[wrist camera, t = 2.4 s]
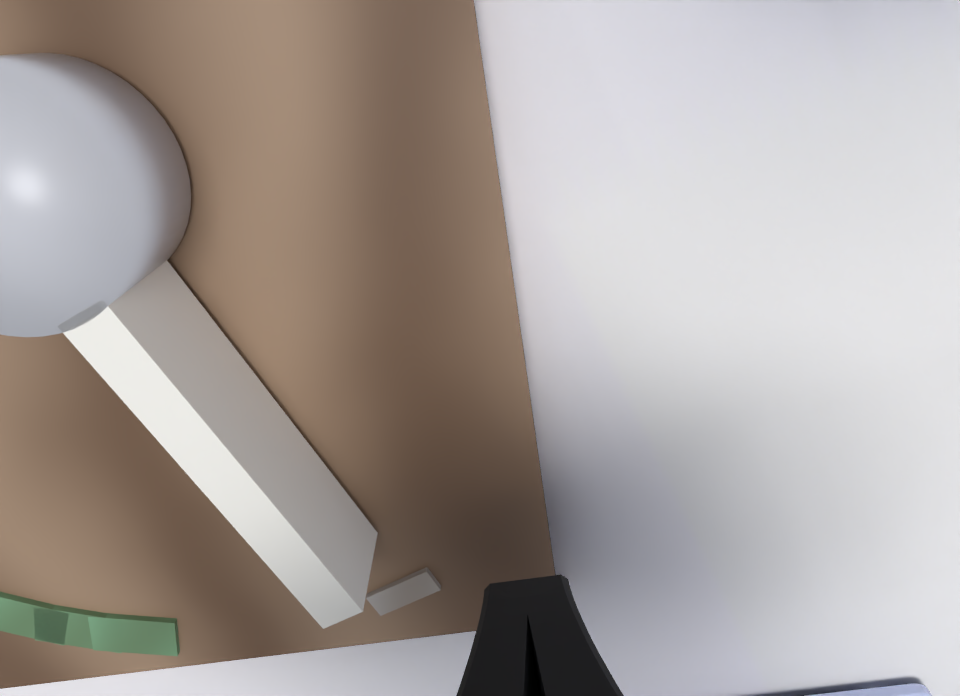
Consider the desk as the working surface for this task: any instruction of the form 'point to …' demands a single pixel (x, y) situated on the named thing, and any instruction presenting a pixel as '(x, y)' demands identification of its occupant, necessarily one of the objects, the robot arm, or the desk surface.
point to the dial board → (285, 340)
